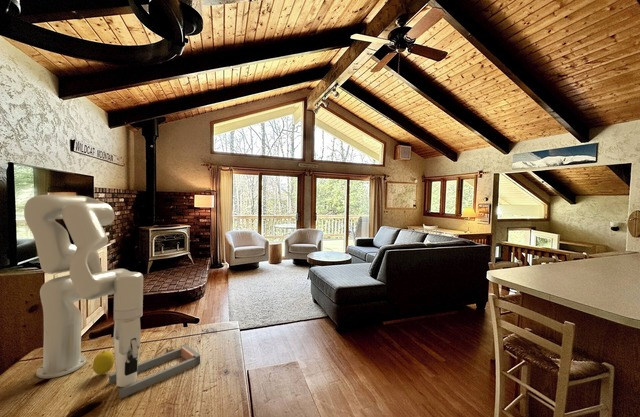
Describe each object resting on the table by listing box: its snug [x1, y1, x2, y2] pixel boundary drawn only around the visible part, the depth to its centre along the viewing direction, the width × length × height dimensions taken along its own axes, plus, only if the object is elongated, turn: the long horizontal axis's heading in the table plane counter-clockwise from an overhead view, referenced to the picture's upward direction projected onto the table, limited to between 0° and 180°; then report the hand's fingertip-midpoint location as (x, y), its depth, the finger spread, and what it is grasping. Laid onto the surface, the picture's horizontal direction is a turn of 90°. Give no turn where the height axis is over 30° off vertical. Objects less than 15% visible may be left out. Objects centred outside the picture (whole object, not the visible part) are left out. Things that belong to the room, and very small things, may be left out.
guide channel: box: [108, 344, 201, 399], centre depth 93 cm, size 11×24×3 cm, turn 141°
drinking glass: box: [113, 337, 141, 388], centre depth 86 cm, size 7×7×15 cm
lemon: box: [92, 350, 115, 376], centre depth 91 cm, size 6×6×8 cm
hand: (127, 368), depth 87 cm, fingers closed on drinking glass, 6 cm apart
